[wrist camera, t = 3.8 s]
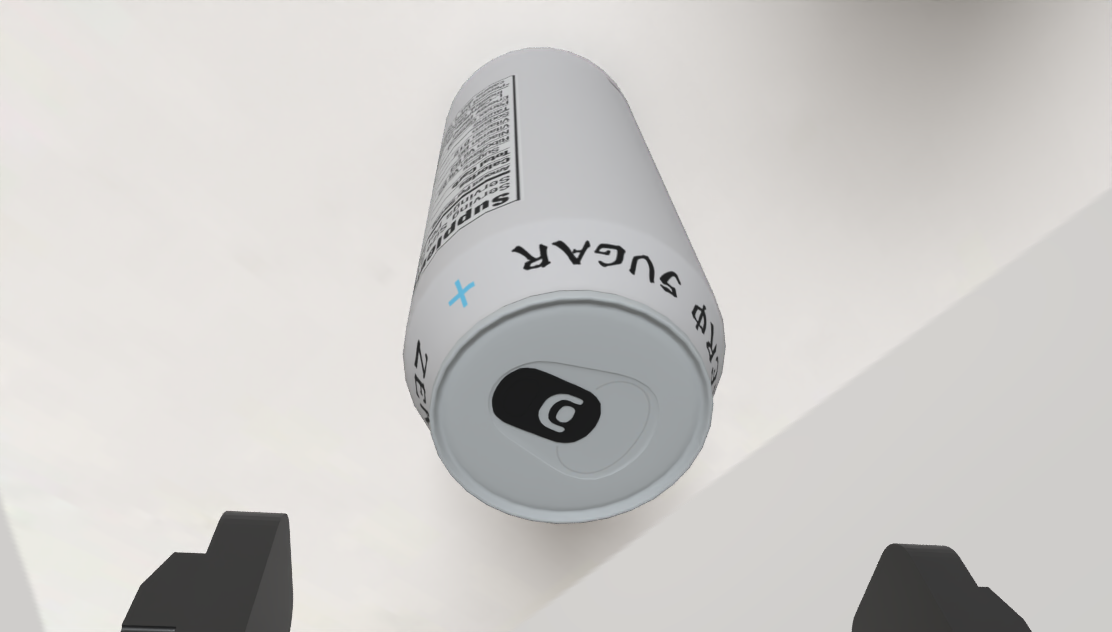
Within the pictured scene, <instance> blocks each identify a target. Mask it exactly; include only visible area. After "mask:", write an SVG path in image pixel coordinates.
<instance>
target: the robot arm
mask: <svg viewBox="0 0 1112 632" xmlns="http://www.w3.org/2000/svg"><path fill="white" fill-rule="evenodd" d="M292 610H293V584H292V566H291V547H290V529H289V519H288V516H287V514H283V513H262V512H240V511H226V512H224V514H223V515H222V516H221V518H220V520H219V523H218V525H217V527H216V530H215V532H214V535H213V537H212V540H211V542H210V545H209V547H208V550H207V552H206V554H203V553H178V552H174V553H173V554H172V555H171V556H170V557H169V558H168V559H167V560H166V561H165V562H164V563H163V564H162V565H161V566H160V567H159V568H158V569H157V570H156V571H155V572H154V573H153V574H152V575H151V576H150V577H149V578H148V579H147V580H145V581H144V582H143V583H142V584H141V585H140V587H139V590H138V592H137V594H136V596H135V598H134V600H133V602H132V604H131V607H130V609H129V611H128V613H127V615H126V617H125V619H124V621H123V623H122V629H121V632H290V627H291V620H292ZM852 632H1031V630H1030V628H1029V627H1028V625H1027V624H1026V622H1025V621H1024V619H1023V618H1022V617H1020V616H1019V615H1018V614H1017V613H1016V612H1015V611H1014V610H1013V609H1012V608H1011V607H1009V606H1008V605H1007V604H1006V603H1005V602H1004V601H1003V600H1002V599H1001V598H1000V597H999V596H997V595H996V594H995V593H994V592H993V591H992V590H991V589H990V588H989V587H978V586H977V584H976V583H975V581H974V579H973V578H972V576H971V575H970V573H969V572H968V570H967V568H966V567H965V565H964V564H963V562H962V561H961V559H960V557H959V556H958V555H957V553H956V552H955V551H954V550H953V549H951V548H949V547H947V546H937V545H915V544H890V545H889V546H887V547H886V549H885V550H884V552H883V553H882V556H881V558H880V560H879V562H878V564H877V567H876V569H875V571H874V574H873V576H872V578H871V580H870V582H869V585H868V587H867V589H866V592H865V594H864V596H863V598H862V600H861V603H860V605H859V607H858V610H857V612H856V614H855V617H854V620H853V625H852Z"/></svg>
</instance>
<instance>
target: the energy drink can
mask: <svg viewBox="0 0 1112 632" xmlns="http://www.w3.org/2000/svg"><path fill="white" fill-rule="evenodd" d="M725 348H726V345H725V335H724V325H723V319H722V316H721V313H720V310H719V307H718V304H717V302H716V299H715V296H714V293H713V291H712V289H711V287H710V285H709V282H708V280H707V278H706V276H705V273H704V271H703V269H702V267H701V265H700V262H699V260H698V258H697V256H696V253H695V251H694V249H693V247H692V245H691V242H690V240H689V238H688V236H687V234H686V231H685V229H684V227H683V225H682V222H681V220H680V218H679V216H678V214H677V211H676V209H675V207H674V205H673V202H672V200H671V198H670V196H669V194H668V191H667V189H666V187H665V185H664V183H663V180H662V178H661V176H660V174H659V171H658V169H657V167H656V165H655V163H654V160H653V158H652V156H651V154H650V151H649V149H648V147H647V145H646V143H645V140H644V138H643V136H642V134H641V132H640V129H639V127H638V125H637V123H636V120H635V118H634V116H633V114H632V112H631V109H630V107H629V105H628V103H627V100H626V99H625V97H624V95H623V94H622V92H621V91H620V89H619V87H618V86H617V84H616V83H615V82H614V81H613V80H612V79H611V78H610V77H609V76H608V75H607V74H606V72H605V71H604V70H602V69H601V68H600V67H598V66H597V65H595V64H594V63H592V62H591V61H589V60H588V59H586V58H584V57H581V56H579V55H577V54H574V53H572V52H569V51H565V50H560V49H555V48H550V47H548V48H526V49H521V50H516V51H511V52H508V53H506V54H504V55H502V56H499V57H497V58H495V59H492V60H491V61H489V62H488V63H487V64H485V65H484V66H482V67H481V68H479V69H478V70H477V71H475V72H474V74H473V75H472V76H471V77H470V78H469V79H468V80H467V81H466V82H465V83H464V84H463V85H462V87H461V89H460V90H459V92H458V94H457V95H456V97H455V98H454V100H453V102H452V105H451V108H450V110H449V113H448V116H447V119H446V124H445V129H444V134H443V139H442V145H441V150H440V155H439V160H438V165H437V171H436V176H435V181H434V186H433V192H432V197H431V202H430V207H429V212H428V218H427V223H426V228H425V233H424V238H423V244H422V249H421V254H420V259H419V265H418V270H417V275H416V280H415V285H414V291H413V296H412V301H411V306H410V312H409V317H408V322H407V327H406V335H405V342H404V349H403V361H404V370H405V380H406V383H407V386H408V389H409V392H410V395H411V398H412V400H413V403H414V406H415V407H416V409H417V411H418V412H419V414H420V415H421V417H422V419H423V420H424V422H425V423H426V425H427V426H428V428H429V430H430V431H431V436H432V439H433V442H434V445H435V448H436V450H437V453H438V456H439V457H440V459H441V461H442V462H443V464H444V465H445V467H446V468H447V470H448V472H449V473H450V475H451V476H452V477H453V478H454V479H455V480H456V481H457V482H458V483H459V484H460V485H461V486H462V487H463V488H464V489H465V490H466V491H467V492H469V493H470V494H472V495H473V496H475V497H476V498H477V499H479V500H480V501H482V502H483V503H485V504H486V505H488V506H491V507H493V508H495V509H497V510H499V511H502V512H504V513H506V514H508V515H512V516H516V517H520V518H523V519H527V520H531V521H538V522H547V523H556V524H562V523H584V522H590V521H595V520H601V519H607V518H610V517H613V516H616V515H619V514H622V513H625V512H628V511H631V510H633V509H635V508H637V507H639V506H641V505H643V504H645V503H647V502H649V501H651V500H653V499H654V498H656V497H657V496H658V495H660V494H661V493H663V492H664V491H665V490H667V489H668V488H669V487H671V486H672V485H673V484H674V483H675V482H676V481H677V480H678V479H679V478H680V477H681V476H682V475H683V474H684V473H685V472H686V471H687V470H688V469H689V468H690V466H691V465H692V463H693V462H694V460H695V458H696V457H697V455H698V454H699V452H700V451H701V449H702V447H703V445H704V442H705V440H706V437H707V434H708V432H709V429H710V426H711V419H712V411H713V396H714V394H715V391H716V388H717V385H718V383H719V380H720V377H721V375H722V370H723V363H724V355H725Z"/></svg>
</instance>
